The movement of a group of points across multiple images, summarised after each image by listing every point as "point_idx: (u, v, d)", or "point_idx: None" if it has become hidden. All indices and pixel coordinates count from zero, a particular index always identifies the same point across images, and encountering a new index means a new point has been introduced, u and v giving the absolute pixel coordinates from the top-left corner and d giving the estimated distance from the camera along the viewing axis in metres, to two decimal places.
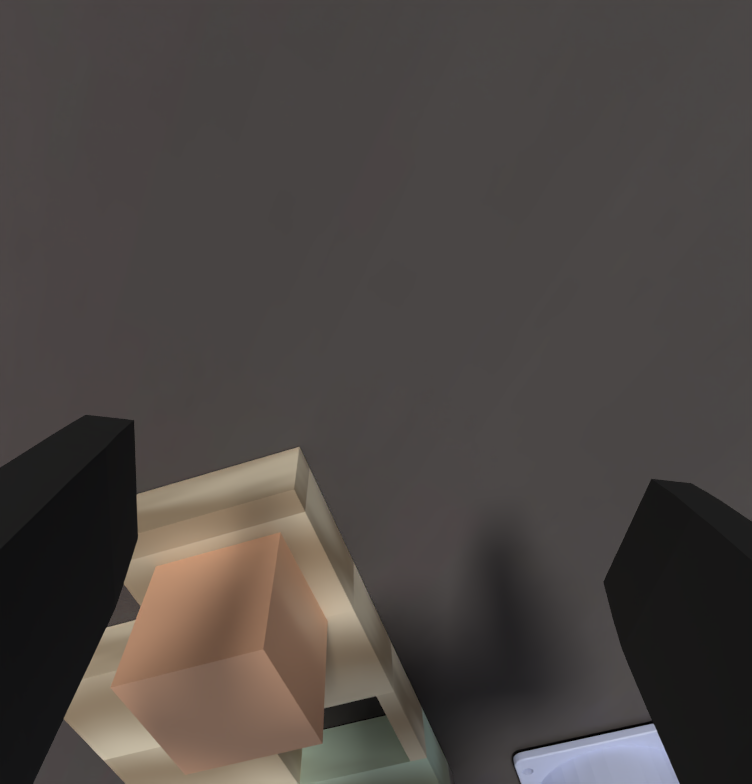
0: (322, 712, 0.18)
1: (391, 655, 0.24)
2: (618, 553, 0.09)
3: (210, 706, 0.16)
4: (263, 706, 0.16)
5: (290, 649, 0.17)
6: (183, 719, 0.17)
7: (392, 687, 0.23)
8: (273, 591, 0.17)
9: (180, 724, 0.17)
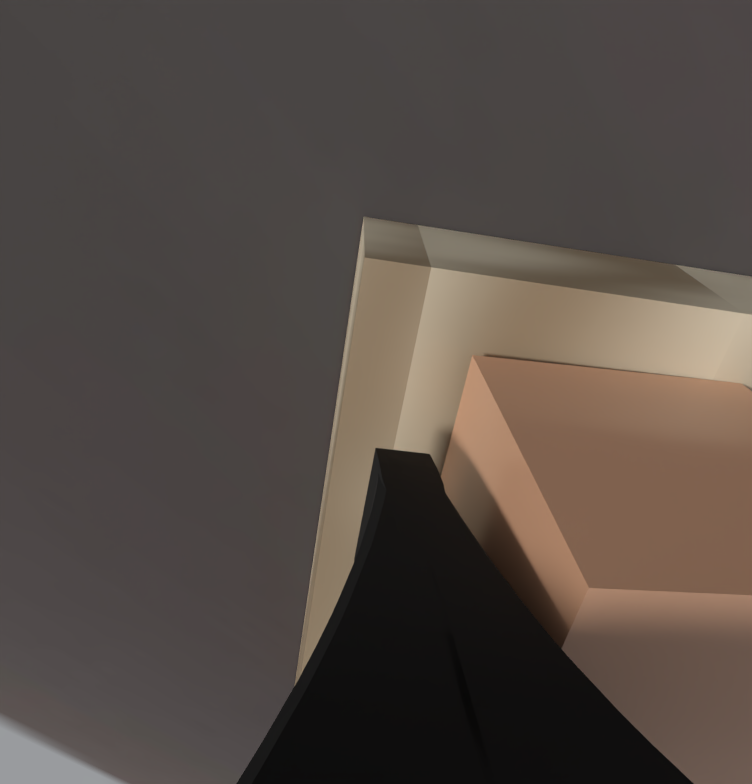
0: None
1: None
2: (360, 527, 0.09)
3: (667, 748, 0.06)
4: None
5: (688, 506, 0.06)
6: None
7: None
8: (528, 449, 0.07)
9: None
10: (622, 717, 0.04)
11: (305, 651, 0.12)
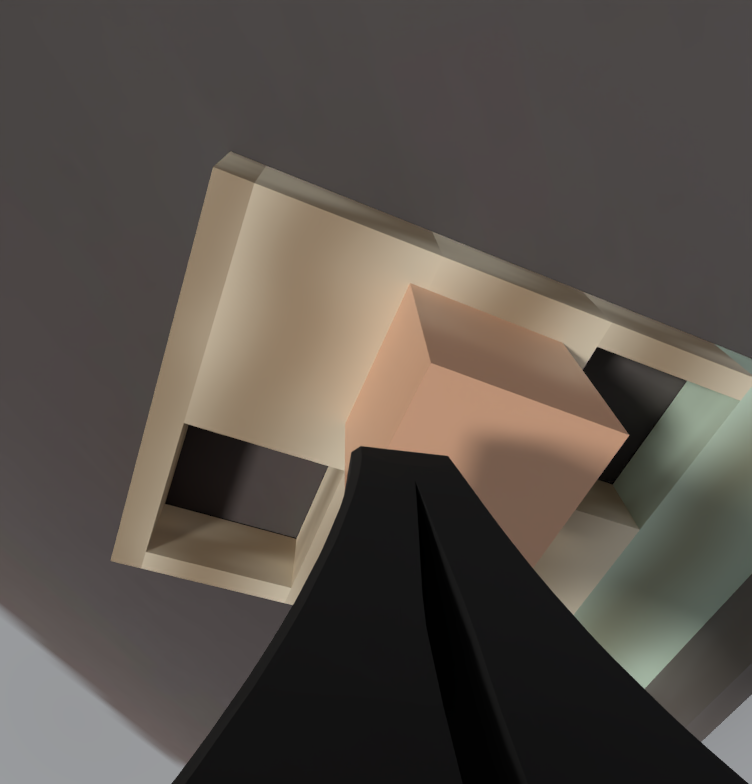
0: (608, 410, 0.13)
1: (589, 299, 0.17)
2: None
3: None
4: (510, 437, 0.12)
5: (495, 363, 0.12)
6: None
7: (604, 319, 0.15)
8: (424, 321, 0.13)
9: None
10: (675, 721, 0.04)
11: (139, 454, 0.17)
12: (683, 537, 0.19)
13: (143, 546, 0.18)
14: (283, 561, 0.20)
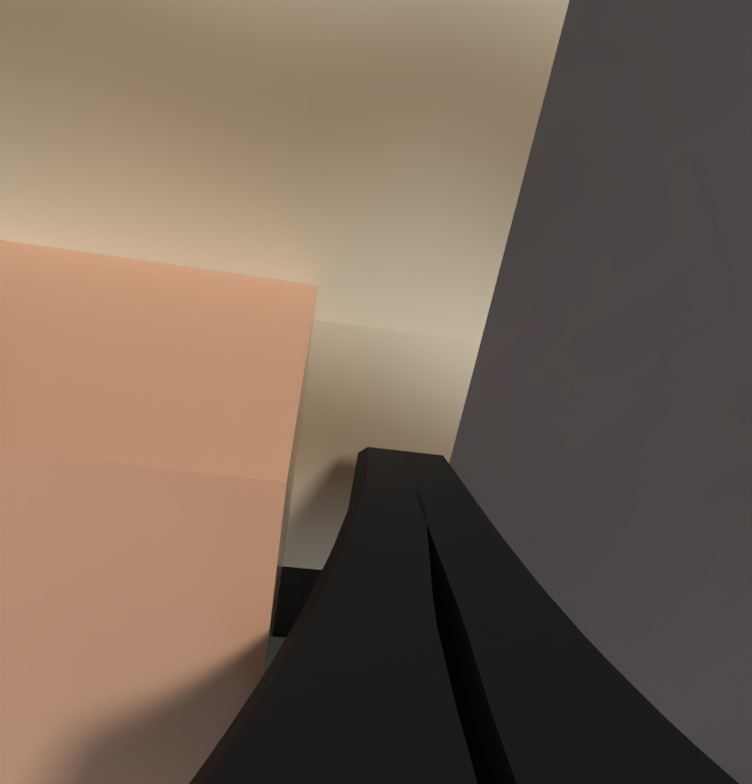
0: None
1: None
2: None
3: (0, 609, 0.05)
4: (163, 662, 0.05)
5: (283, 534, 0.06)
6: None
7: None
8: (303, 371, 0.06)
9: None
10: (665, 721, 0.04)
11: None
12: None
13: None
14: None
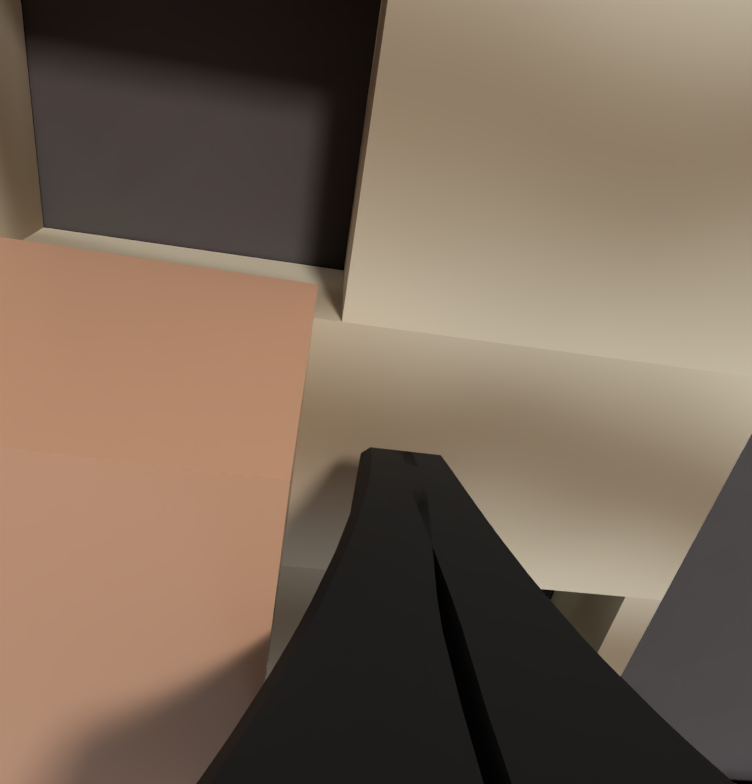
0: None
1: None
2: None
3: None
4: (164, 659, 0.05)
5: (284, 532, 0.06)
6: None
7: (663, 590, 0.11)
8: (305, 370, 0.06)
9: None
10: (662, 720, 0.04)
11: None
12: None
13: None
14: (4, 224, 0.09)
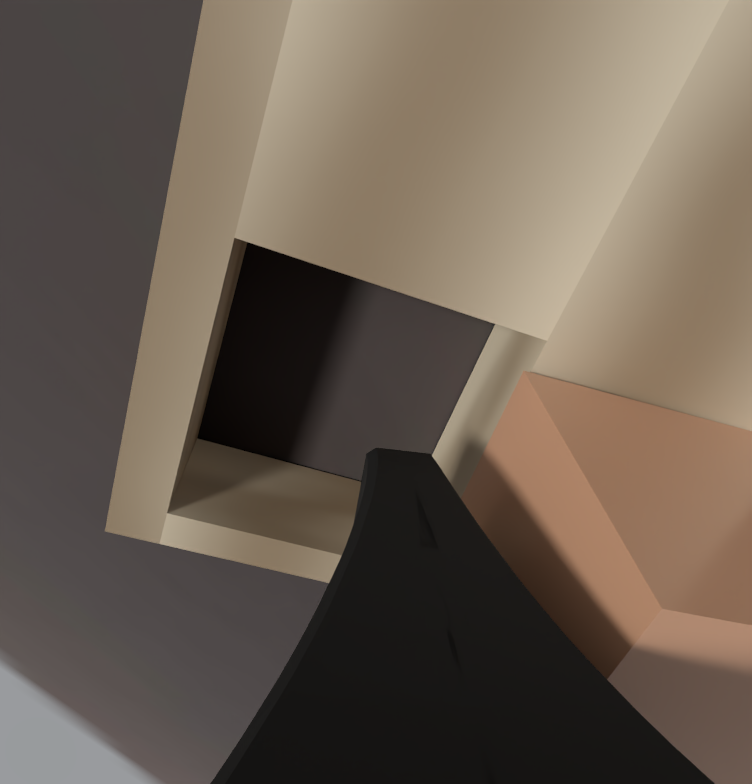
0: None
1: None
2: None
3: None
4: None
5: (737, 545, 0.06)
6: None
7: None
8: (587, 468, 0.07)
9: None
10: (642, 719, 0.04)
11: (147, 314, 0.08)
12: None
13: (161, 502, 0.10)
14: None
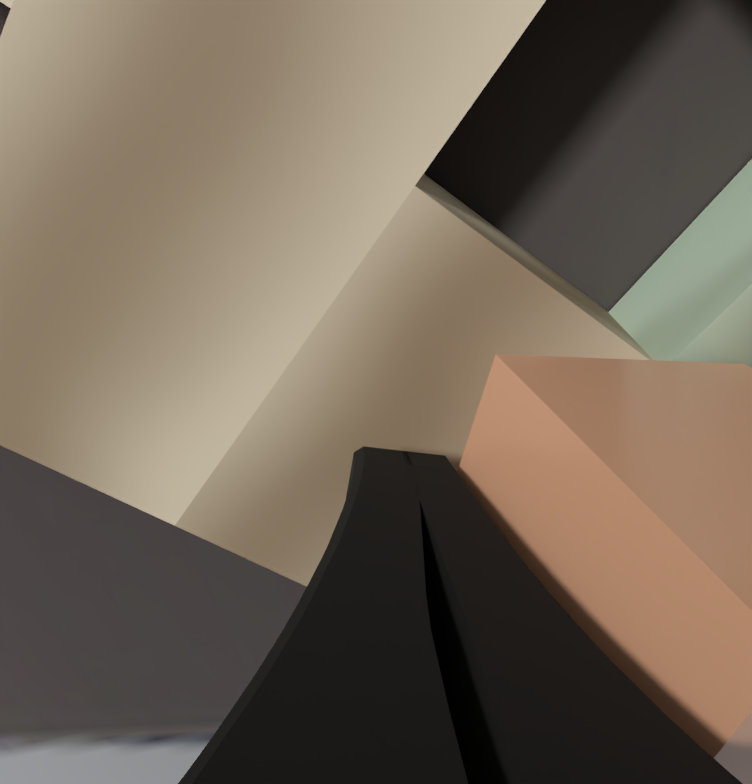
0: None
1: None
2: None
3: None
4: None
5: None
6: None
7: None
8: (621, 470, 0.06)
9: None
10: (670, 721, 0.04)
11: None
12: None
13: None
14: None
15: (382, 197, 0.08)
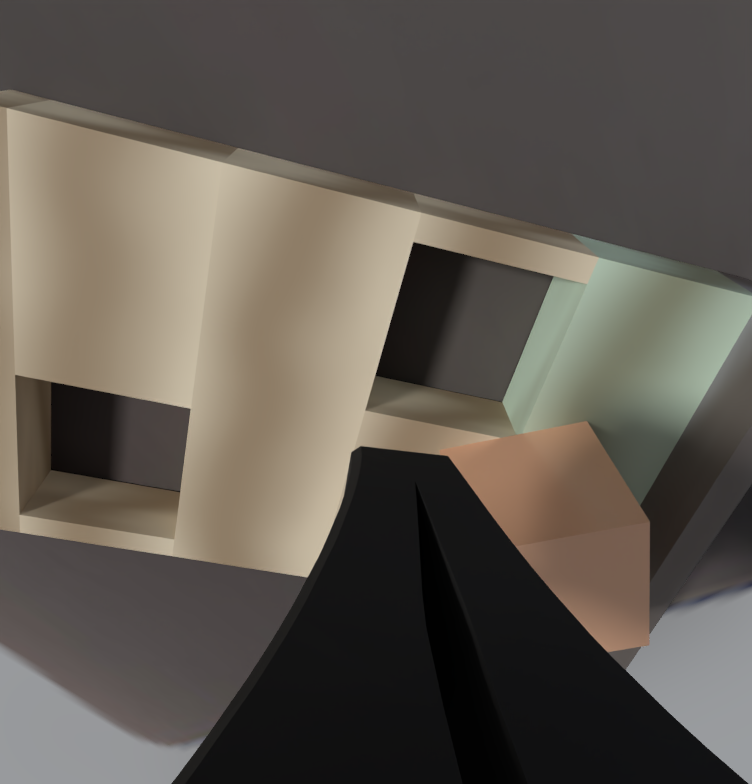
0: (629, 498, 0.14)
1: (414, 198, 0.16)
2: None
3: None
4: (557, 567, 0.14)
5: (518, 510, 0.15)
6: None
7: (413, 210, 0.14)
8: None
9: None
10: (675, 721, 0.04)
11: None
12: None
13: (14, 509, 0.18)
14: (171, 515, 0.20)
15: (353, 419, 0.17)
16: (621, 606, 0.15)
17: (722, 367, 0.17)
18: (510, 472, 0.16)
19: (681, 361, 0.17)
